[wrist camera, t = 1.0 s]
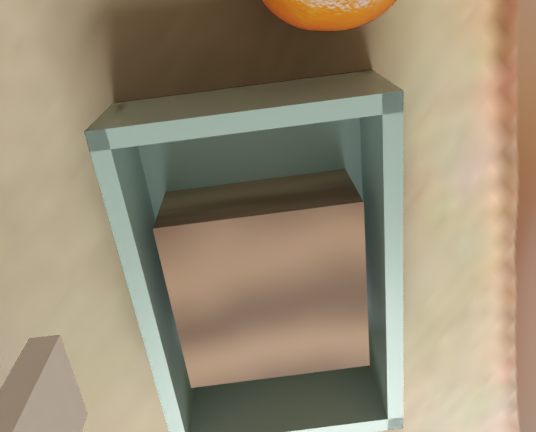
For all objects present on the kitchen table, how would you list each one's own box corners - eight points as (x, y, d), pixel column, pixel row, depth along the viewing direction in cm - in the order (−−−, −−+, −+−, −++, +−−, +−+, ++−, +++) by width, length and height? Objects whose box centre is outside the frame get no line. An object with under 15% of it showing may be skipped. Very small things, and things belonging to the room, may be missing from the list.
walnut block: (165, 191, 30) (152, 228, 26) (345, 168, 30) (363, 201, 26) (197, 335, 35) (191, 388, 31) (353, 315, 35) (369, 365, 31)
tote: (113, 103, 29) (84, 131, 23) (372, 69, 29) (403, 90, 23) (184, 389, 38) (175, 456, 33) (379, 364, 38) (403, 428, 33)
